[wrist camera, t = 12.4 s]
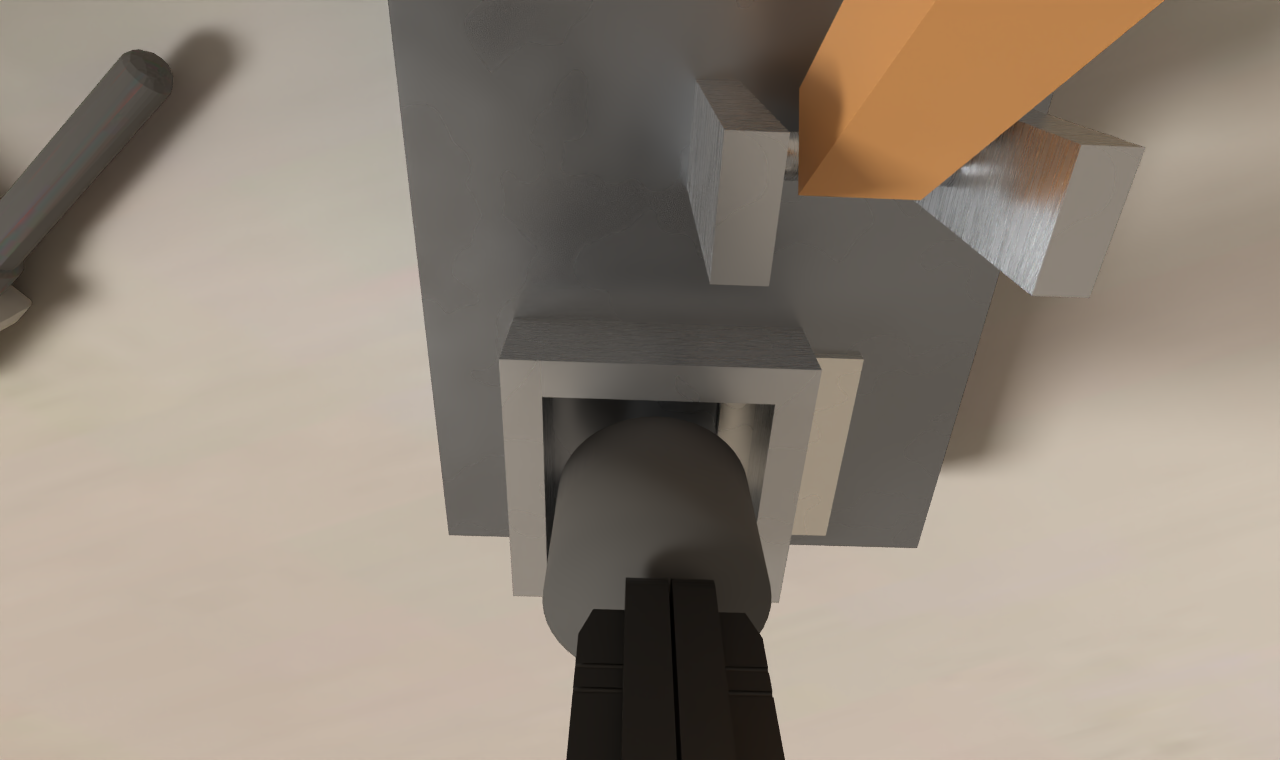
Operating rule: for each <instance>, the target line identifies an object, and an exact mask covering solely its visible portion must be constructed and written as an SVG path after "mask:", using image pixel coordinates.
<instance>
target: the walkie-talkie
mask: <svg viewBox="0 0 1280 760" xmlns="http://www.w3.org/2000/svg"><path fill="white" fill-rule="evenodd" d="M172 83H173V75H172V73H171V70H170V68H169V65H168V64H167V63H166V62H165V61H164V60H163V59H162V58H160V57H159V56H157V55H156V54H154V53H151V52H147V51H143V50H139V49H138V50H132V51H129V52H127V53H124V54H123V55H122V56H121V57H120V58H119V59H118V61H117V62H116V63H115V64H114V65H113V67H112V68H111V69H110V70H109V71H108V73H107V74H106V75H105V76H104V77H103V78H102V80H101V81H100V82H99V83H98V84H97V86H96V87H95V88H94V89H93V90H92V92H91V93H90V94H89V95H88V96H87V98H86V99H85V100H84V101H83V102H82V103H81V105H80V106H79V107H78V108H77V109H76V111H75V112H74V113H73V114H72V115H71V117H70V118H69V119H68V120H67V121H66V123H65V124H64V125H63V126H62V127H61V128H60V130H59V131H58V132H57V133H56V134H55V136H54V137H53V138H52V139H51V140H50V142H49V143H48V144H47V145H46V146H45V148H44V149H43V150H42V151H41V152H40V153H39V155H38V156H37V157H36V158H35V159H34V161H33V162H32V163H31V164H30V165H29V167H28V168H27V169H26V170H25V171H24V173H23V174H22V175H21V176H20V177H19V178H18V180H17V181H16V182H15V183H14V184H13V186H12V187H11V188H10V189H9V190H8V192H7V193H6V194H5V195H4V196H3V198H2V199H1V200H0V331H2V330H3V329H5V328H7V327H9V326H10V325H12V324H14V323H16V322H17V321H18V320H19V319H20V318H21V316H22V315H23V314H24V313H25V312H26V311H27V310H28V308H29V307H30V306H31V305H32V302H31V300H30V299H29V298H27V297H26V296H25V295H24V294H22V293H21V292H20V291H18V290H17V289H16V288H14V287H13V286H12V285H11V284H12V283H13V282H14V281H15V280H16V279H17V278H18V277H19V276H20V274H21V273H22V271H23V270H24V266H23V260H24V259H25V258H26V257H27V256H28V255H29V254H30V252H31V251H32V250H33V249H34V248H35V247H36V246H37V244H38V243H39V242H40V241H41V240H42V239H43V238H44V237H45V235H46V234H47V233H48V232H49V231H50V230H51V229H52V227H53V226H54V225H55V224H56V223H57V222H58V221H59V220H60V218H61V217H62V216H63V215H64V214H65V213H66V212H67V210H68V209H69V208H70V207H71V206H72V205H73V204H74V203H75V201H76V200H77V199H78V198H79V197H80V196H81V195H82V193H83V192H84V191H85V190H86V189H87V188H88V187H89V185H90V184H91V183H92V182H93V181H94V180H95V179H96V178H97V176H98V175H99V174H100V173H101V172H102V171H103V170H104V168H105V167H106V166H107V165H108V164H109V163H110V162H111V161H112V159H113V158H114V157H115V156H116V155H117V154H118V153H119V151H120V150H121V149H122V148H123V147H124V146H125V145H126V144H127V142H128V141H129V140H130V139H131V138H132V137H133V136H134V134H135V133H136V132H137V131H138V130H139V129H140V128H141V127H142V125H143V124H144V123H145V122H146V121H147V120H148V119H149V117H150V116H151V115H152V114H153V113H154V112H155V111H156V109H157V108H158V107H159V106H160V105H161V104H162V103H163V102H164V100H165V99H166V98H167V97H168V96H169V95H170V93H171V90H172Z"/></svg>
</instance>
